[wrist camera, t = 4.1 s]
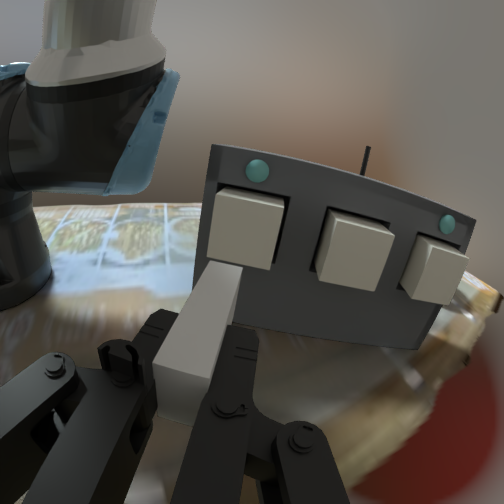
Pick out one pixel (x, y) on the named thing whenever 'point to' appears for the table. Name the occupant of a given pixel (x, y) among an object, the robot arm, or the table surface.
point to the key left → (245, 227)
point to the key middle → (352, 250)
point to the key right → (433, 270)
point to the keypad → (306, 242)
